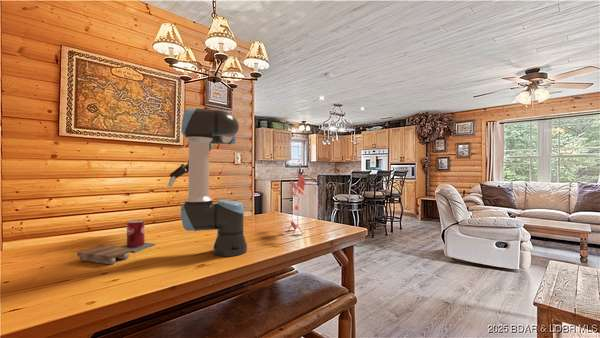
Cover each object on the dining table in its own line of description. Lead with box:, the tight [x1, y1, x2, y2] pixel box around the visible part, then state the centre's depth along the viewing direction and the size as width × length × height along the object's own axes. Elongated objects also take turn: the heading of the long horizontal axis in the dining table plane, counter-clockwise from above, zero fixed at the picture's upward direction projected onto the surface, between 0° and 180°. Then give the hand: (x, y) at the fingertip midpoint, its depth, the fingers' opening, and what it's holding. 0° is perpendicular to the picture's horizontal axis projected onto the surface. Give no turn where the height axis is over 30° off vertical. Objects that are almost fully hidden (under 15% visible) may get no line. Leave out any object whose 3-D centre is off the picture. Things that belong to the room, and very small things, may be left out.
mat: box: [120, 242, 157, 253], centre depth 129 cm, size 12×12×1 cm
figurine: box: [287, 173, 307, 235], centre depth 161 cm, size 15×26×35 cm, turn 19°
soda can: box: [126, 219, 146, 248], centre depth 129 cm, size 7×7×12 cm
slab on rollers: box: [76, 244, 131, 265], centre depth 112 cm, size 16×10×4 cm, turn 75°
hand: (179, 186), depth 144 cm, fingers open, 13 cm apart
